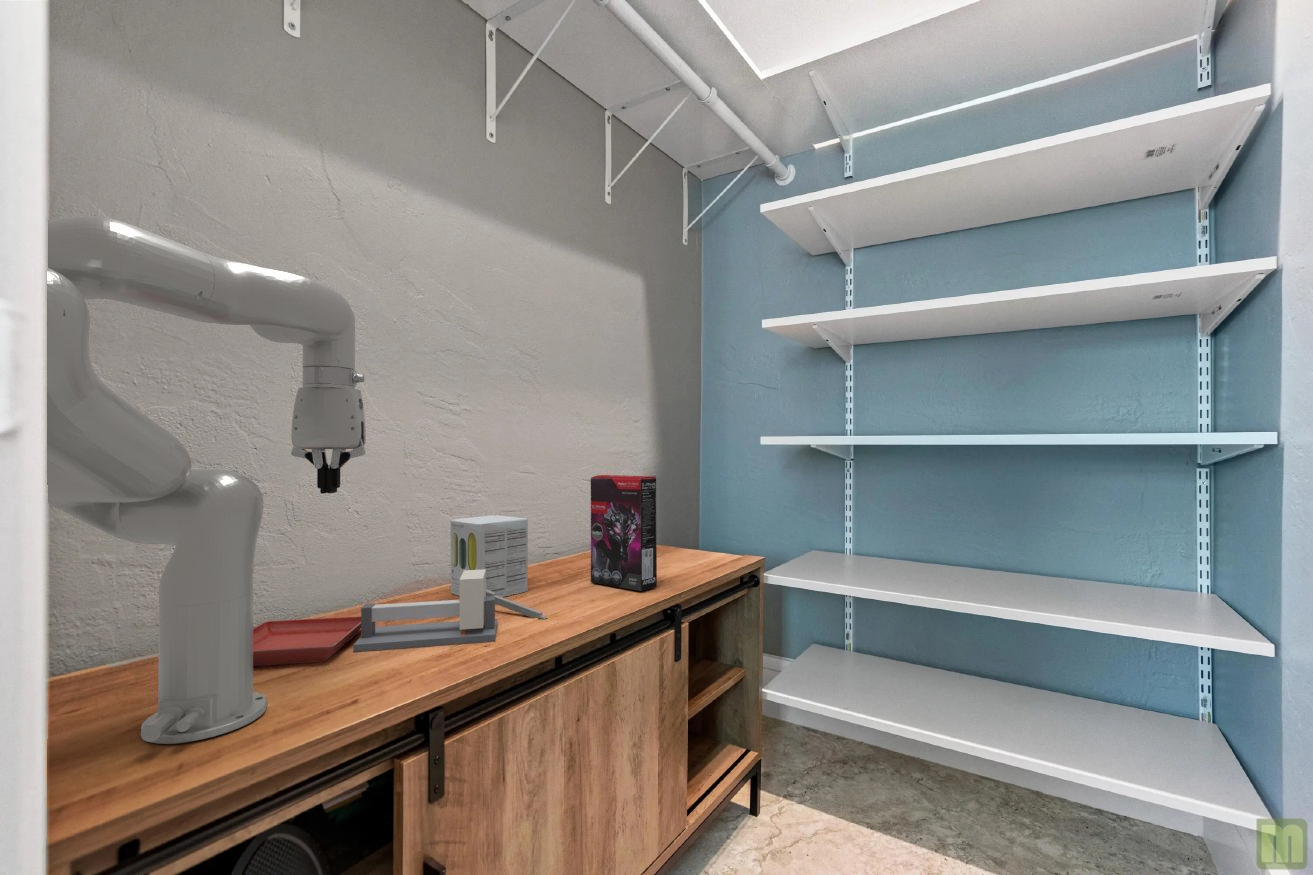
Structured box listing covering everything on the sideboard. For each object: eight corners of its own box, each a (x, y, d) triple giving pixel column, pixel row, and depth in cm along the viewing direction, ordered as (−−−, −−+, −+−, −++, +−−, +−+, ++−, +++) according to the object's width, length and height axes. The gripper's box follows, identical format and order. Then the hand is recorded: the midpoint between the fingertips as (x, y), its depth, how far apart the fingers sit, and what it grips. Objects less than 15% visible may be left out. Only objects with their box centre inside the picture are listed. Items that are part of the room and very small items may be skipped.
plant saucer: (265, 637, 108) (265, 619, 108) (369, 632, 111) (369, 614, 111) (206, 674, 90) (207, 653, 90) (333, 667, 93) (333, 646, 93)
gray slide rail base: (495, 641, 104) (494, 604, 104) (353, 651, 99) (353, 613, 99) (497, 624, 114) (497, 591, 114) (368, 633, 109) (368, 598, 109)
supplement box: (448, 593, 139) (448, 519, 139) (496, 583, 149) (496, 514, 149) (481, 602, 130) (481, 523, 131) (529, 591, 140) (529, 518, 141)
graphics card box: (588, 583, 148) (588, 475, 149) (606, 578, 154) (606, 474, 154) (641, 593, 138) (640, 477, 138) (659, 587, 143) (658, 475, 144)
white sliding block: (483, 627, 105) (483, 578, 105) (459, 629, 104) (459, 579, 104) (485, 615, 113) (485, 569, 113) (463, 616, 112) (463, 570, 112)
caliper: (465, 609, 126) (465, 580, 126) (469, 608, 127) (469, 579, 127) (544, 621, 117) (544, 589, 117) (547, 619, 118) (547, 588, 118)
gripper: (383, 383, 102) (383, 490, 101) (287, 382, 98) (286, 492, 98) (372, 378, 94) (372, 493, 94) (268, 377, 91) (267, 495, 91)
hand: (328, 492), depth 96 cm, fingers closed
